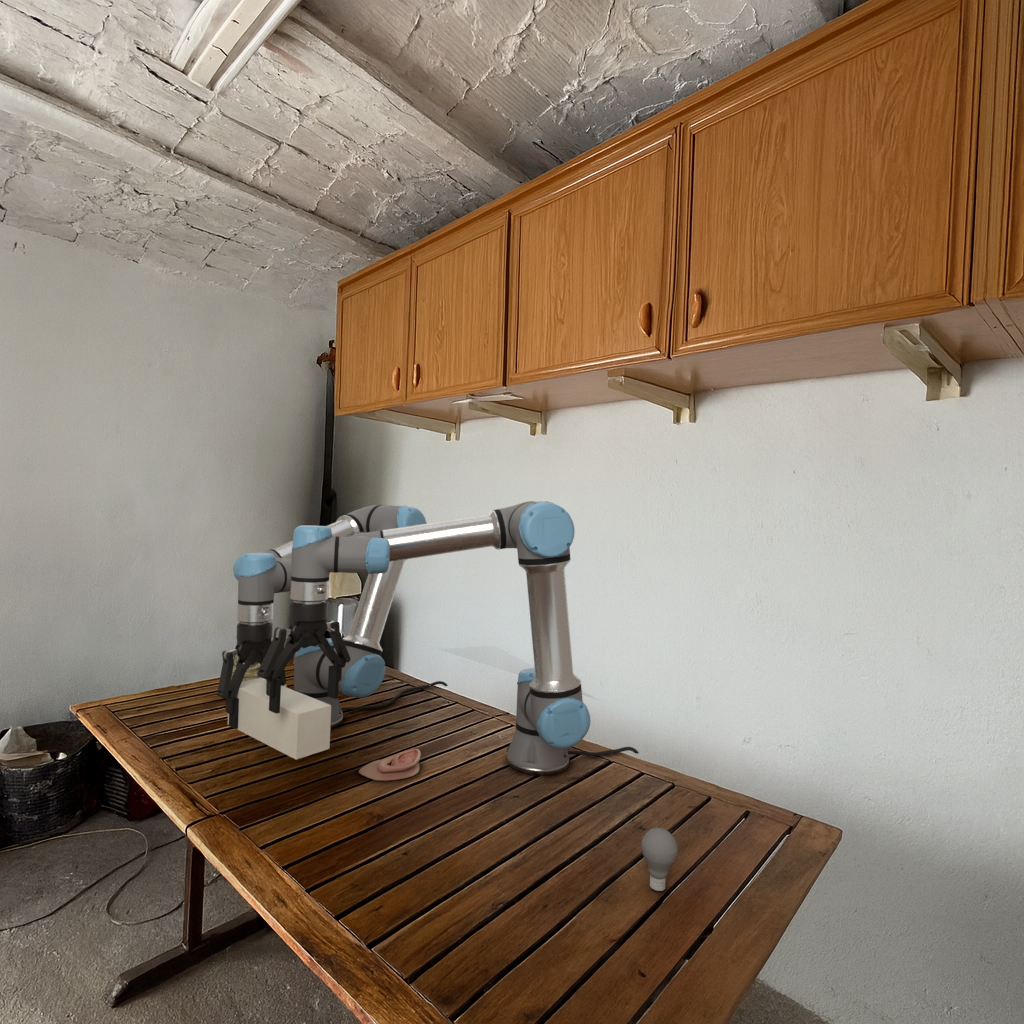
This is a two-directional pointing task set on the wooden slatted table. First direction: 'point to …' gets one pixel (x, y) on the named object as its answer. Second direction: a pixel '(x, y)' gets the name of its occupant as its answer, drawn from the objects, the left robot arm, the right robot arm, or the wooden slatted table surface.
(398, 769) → the anatomical model
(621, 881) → the wooden slatted table surface
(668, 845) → the light bulb
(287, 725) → the box
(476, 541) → the right robot arm
